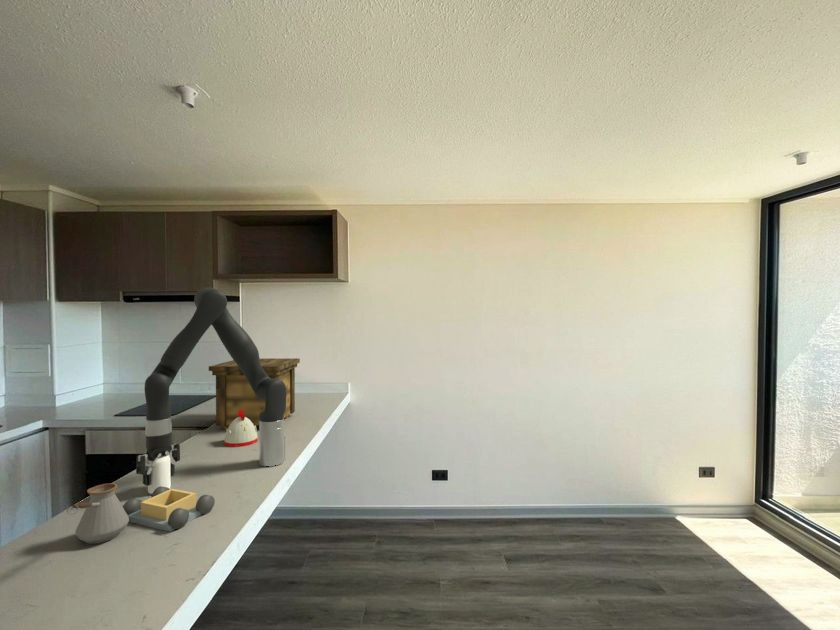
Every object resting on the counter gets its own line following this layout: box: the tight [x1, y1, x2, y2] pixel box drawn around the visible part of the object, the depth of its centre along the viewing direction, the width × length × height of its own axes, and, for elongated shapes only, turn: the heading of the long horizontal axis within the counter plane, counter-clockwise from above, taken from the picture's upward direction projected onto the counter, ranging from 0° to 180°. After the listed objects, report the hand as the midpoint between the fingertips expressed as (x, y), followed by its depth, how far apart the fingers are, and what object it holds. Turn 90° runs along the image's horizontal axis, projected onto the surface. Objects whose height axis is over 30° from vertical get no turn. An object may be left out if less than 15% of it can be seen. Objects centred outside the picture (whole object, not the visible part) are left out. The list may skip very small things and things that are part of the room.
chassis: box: [122, 486, 216, 532], centre depth 124 cm, size 14×20×5 cm
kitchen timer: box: [224, 409, 259, 448], centre depth 193 cm, size 14×14×15 cm
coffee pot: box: [66, 483, 130, 545], centre depth 107 cm, size 21×12×15 cm, turn 16°
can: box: [147, 454, 172, 496], centre depth 140 cm, size 6×6×12 cm
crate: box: [208, 357, 301, 430], centre depth 227 cm, size 35×35×33 cm
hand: (159, 480), depth 140 cm, fingers open, 8 cm apart
